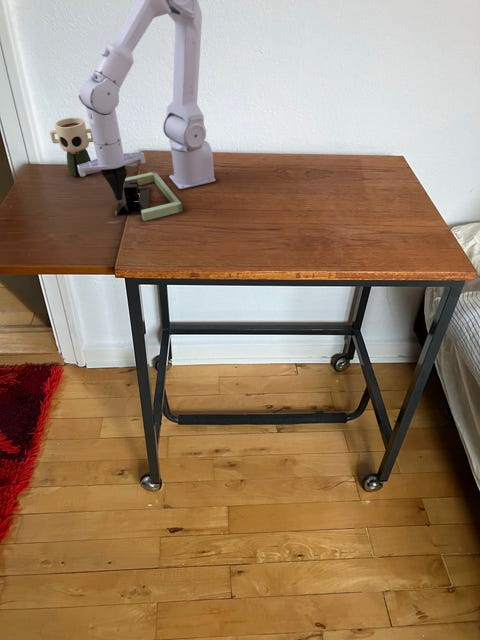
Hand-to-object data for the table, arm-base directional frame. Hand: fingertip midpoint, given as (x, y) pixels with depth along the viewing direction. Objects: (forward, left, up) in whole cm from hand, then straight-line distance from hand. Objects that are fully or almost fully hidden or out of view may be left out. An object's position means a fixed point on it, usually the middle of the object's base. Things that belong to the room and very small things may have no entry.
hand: (118, 198), depth 122 cm
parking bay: (-7, 0, -2) cm, 8 cm away
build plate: (-3, 0, -2) cm, 4 cm away
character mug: (+4, -23, -2) cm, 23 cm away
